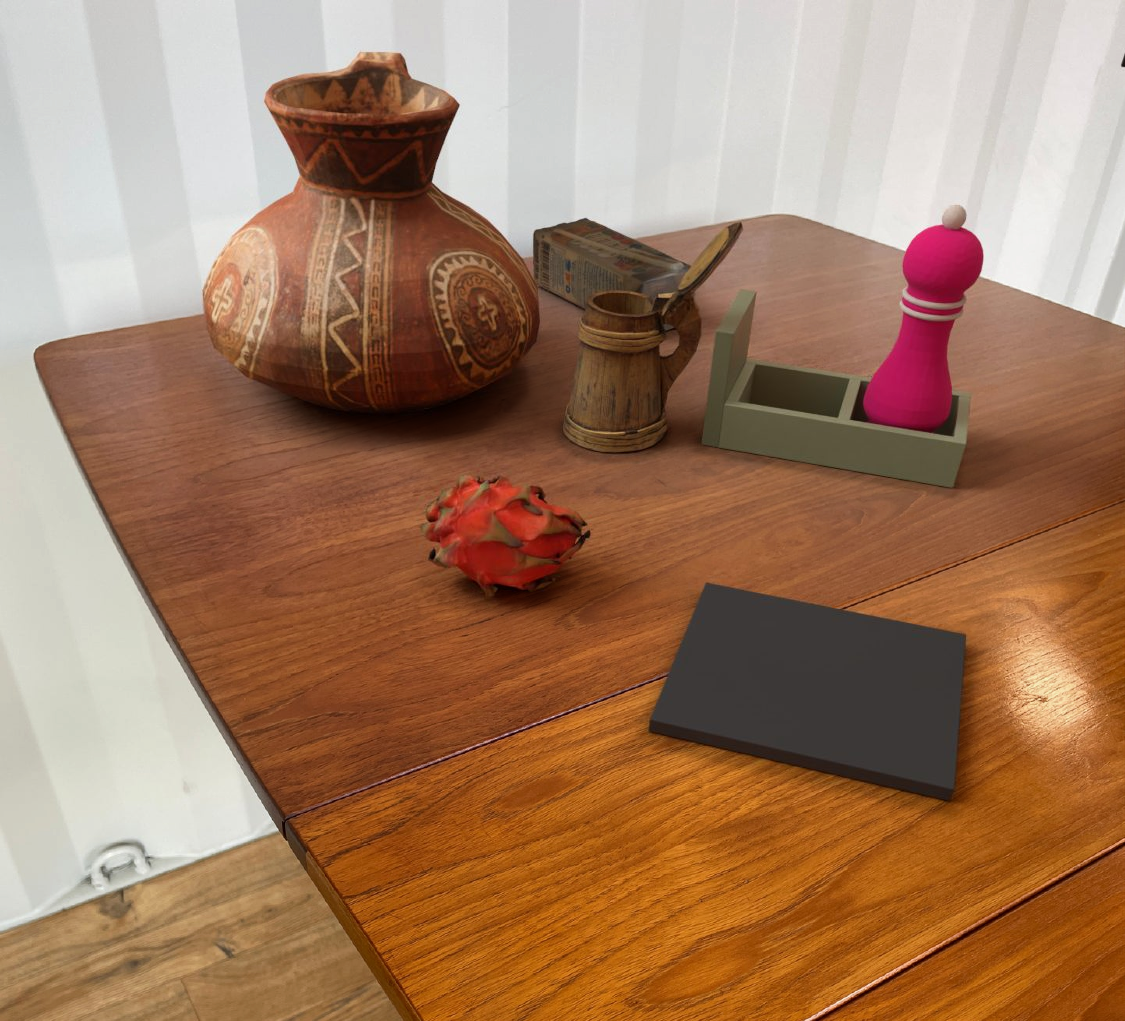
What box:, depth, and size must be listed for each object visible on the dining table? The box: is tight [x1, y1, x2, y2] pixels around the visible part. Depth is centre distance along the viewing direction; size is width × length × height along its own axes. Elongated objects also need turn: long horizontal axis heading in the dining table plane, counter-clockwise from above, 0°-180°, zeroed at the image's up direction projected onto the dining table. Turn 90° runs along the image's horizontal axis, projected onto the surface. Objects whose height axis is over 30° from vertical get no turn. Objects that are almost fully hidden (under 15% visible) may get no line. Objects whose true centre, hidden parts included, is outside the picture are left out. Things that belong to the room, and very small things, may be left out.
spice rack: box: [701, 288, 972, 489], centre depth 93 cm, size 22×10×10 cm, turn 72°
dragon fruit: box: [419, 473, 591, 597], centre depth 76 cm, size 8×8×12 cm
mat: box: [648, 582, 967, 802], centre depth 70 cm, size 18×16×1 cm
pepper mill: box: [863, 204, 984, 434], centre depth 88 cm, size 7×7×20 cm
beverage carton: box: [532, 217, 696, 332], centre depth 117 cm, size 8×19×7 cm, turn 37°
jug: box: [201, 51, 541, 415], centre depth 95 cm, size 30×30×25 cm
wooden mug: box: [562, 221, 744, 453], centre depth 90 cm, size 9×14×18 cm, turn 82°
